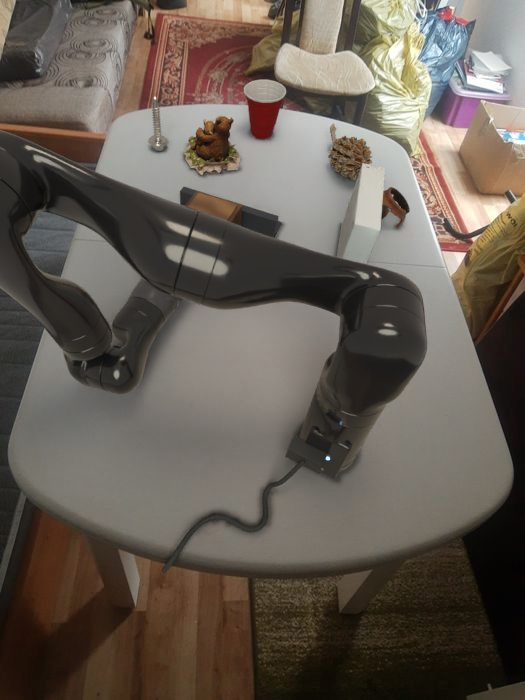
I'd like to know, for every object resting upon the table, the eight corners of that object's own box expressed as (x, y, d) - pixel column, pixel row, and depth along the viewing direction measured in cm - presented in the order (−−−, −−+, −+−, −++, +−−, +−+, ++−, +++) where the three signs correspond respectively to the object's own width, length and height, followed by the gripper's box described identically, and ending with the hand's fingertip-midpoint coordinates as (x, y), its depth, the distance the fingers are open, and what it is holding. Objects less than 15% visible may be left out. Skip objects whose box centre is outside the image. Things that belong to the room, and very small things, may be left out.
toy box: (222, 268, 97) (223, 232, 90) (176, 254, 98) (175, 217, 91) (239, 239, 103) (242, 203, 96) (196, 226, 104) (196, 189, 97)
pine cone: (374, 189, 120) (387, 152, 112) (340, 193, 117) (350, 156, 109) (338, 142, 132) (347, 106, 124) (306, 145, 129) (313, 108, 122)
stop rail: (272, 239, 104) (275, 221, 100) (180, 210, 107) (179, 191, 103) (281, 224, 108) (284, 205, 104) (191, 196, 111) (191, 176, 107)
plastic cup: (232, 129, 131) (235, 83, 121) (264, 120, 135) (268, 75, 126) (256, 148, 126) (261, 102, 116) (288, 138, 130) (295, 93, 121)
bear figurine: (229, 140, 127) (232, 92, 117) (245, 172, 119) (250, 124, 109) (178, 143, 123) (176, 95, 114) (191, 177, 115) (190, 128, 105)
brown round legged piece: (365, 202, 117) (392, 179, 112) (390, 232, 118) (417, 210, 112) (348, 215, 108) (376, 190, 103) (375, 247, 109) (404, 224, 103)
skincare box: (357, 293, 97) (381, 230, 84) (331, 287, 97) (350, 223, 84) (364, 229, 110) (386, 166, 97) (341, 224, 110) (359, 161, 97)
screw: (158, 155, 119) (144, 148, 121) (172, 148, 122) (158, 141, 123) (154, 103, 109) (139, 95, 110) (169, 96, 111) (154, 88, 113)
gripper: (193, 291, 78) (232, 228, 88) (120, 266, 80) (167, 208, 90) (193, 320, 84) (230, 259, 94) (125, 297, 86) (169, 239, 96)
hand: (199, 234), depth 92 cm, fingers closed
